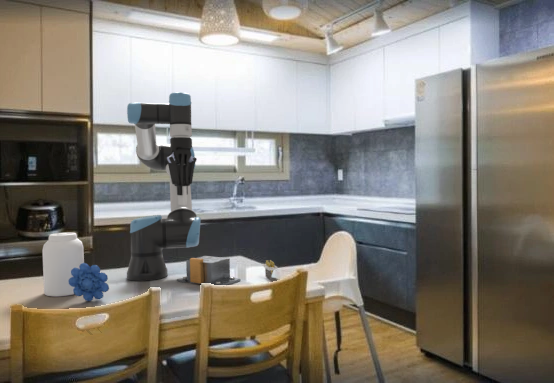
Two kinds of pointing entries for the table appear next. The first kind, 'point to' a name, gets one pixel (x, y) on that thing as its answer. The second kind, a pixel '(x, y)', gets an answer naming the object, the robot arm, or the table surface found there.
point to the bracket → (213, 271)
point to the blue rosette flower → (88, 282)
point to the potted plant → (269, 269)
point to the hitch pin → (196, 270)
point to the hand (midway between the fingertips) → (182, 204)
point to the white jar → (61, 262)
